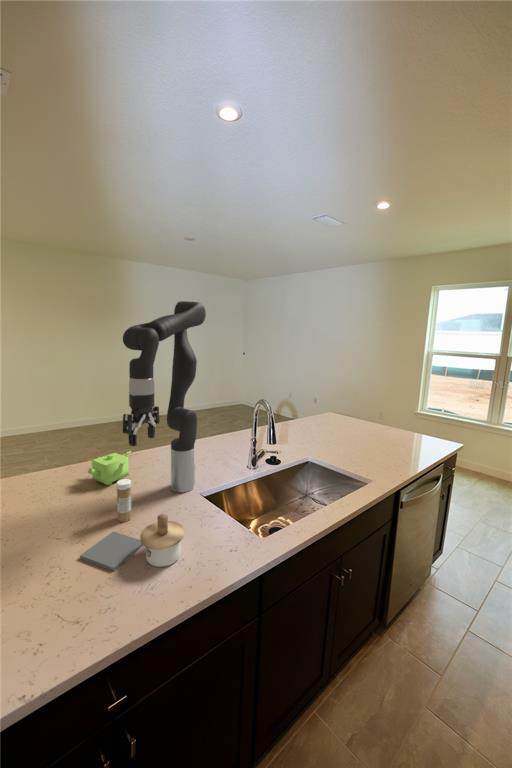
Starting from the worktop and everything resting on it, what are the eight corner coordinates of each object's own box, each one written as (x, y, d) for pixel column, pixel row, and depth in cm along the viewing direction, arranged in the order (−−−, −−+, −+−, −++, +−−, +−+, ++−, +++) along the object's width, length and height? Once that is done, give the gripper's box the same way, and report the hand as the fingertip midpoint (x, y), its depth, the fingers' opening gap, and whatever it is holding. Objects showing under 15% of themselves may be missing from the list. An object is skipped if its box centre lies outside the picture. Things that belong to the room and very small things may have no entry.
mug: (187, 558, 90) (187, 539, 89) (153, 573, 84) (153, 553, 83) (169, 537, 99) (169, 519, 98) (138, 549, 93) (138, 530, 92)
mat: (113, 534, 99) (113, 531, 99) (144, 544, 95) (144, 541, 95) (80, 558, 88) (79, 555, 88) (113, 571, 84) (113, 568, 84)
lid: (158, 519, 98) (158, 501, 97) (192, 528, 94) (192, 510, 93) (130, 542, 87) (130, 522, 86) (167, 554, 83) (167, 533, 82)
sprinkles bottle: (119, 515, 110) (118, 478, 108) (133, 514, 110) (132, 478, 108) (115, 522, 105) (114, 484, 103) (129, 522, 106) (128, 484, 104)
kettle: (131, 471, 144) (131, 448, 142) (128, 486, 130) (128, 460, 129) (95, 474, 140) (94, 449, 138) (88, 489, 126) (87, 462, 124)
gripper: (147, 387, 107) (147, 433, 110) (115, 394, 94) (116, 446, 97) (165, 389, 105) (165, 437, 107) (135, 396, 92) (136, 450, 94)
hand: (142, 441), depth 102 cm, fingers open, 8 cm apart
